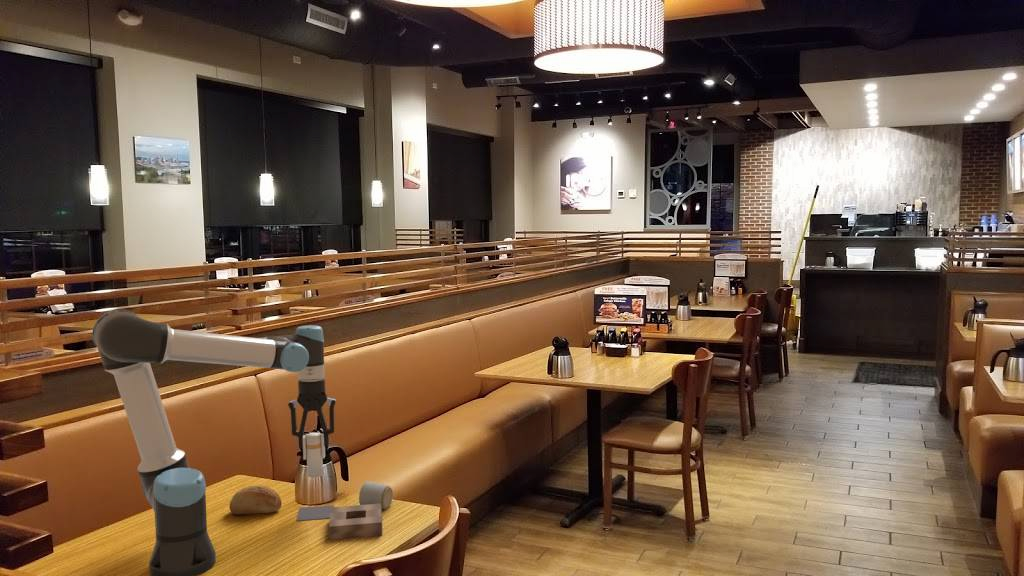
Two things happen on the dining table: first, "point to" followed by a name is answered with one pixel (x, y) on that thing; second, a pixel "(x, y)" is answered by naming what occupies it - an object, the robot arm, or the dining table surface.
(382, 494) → the ceramic mug
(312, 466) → the white banded cylinder
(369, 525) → the block
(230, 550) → the dining table surface
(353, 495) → the dining table surface
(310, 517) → the mat
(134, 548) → the dining table surface
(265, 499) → the bread roll
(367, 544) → the dining table surface
